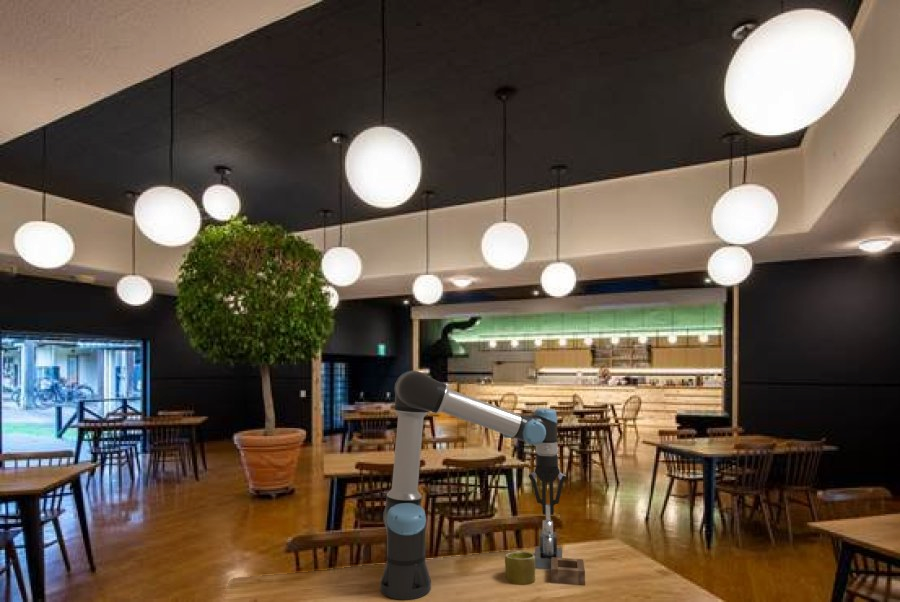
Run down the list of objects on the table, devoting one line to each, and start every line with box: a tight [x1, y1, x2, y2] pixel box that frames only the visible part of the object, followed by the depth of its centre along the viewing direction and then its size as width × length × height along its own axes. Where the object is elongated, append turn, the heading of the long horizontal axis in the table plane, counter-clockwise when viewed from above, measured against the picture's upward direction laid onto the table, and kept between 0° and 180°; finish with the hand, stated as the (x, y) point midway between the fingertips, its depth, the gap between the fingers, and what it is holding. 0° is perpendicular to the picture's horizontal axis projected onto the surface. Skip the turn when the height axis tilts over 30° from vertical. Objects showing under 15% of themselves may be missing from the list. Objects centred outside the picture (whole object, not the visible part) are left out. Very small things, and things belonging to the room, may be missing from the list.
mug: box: [504, 550, 536, 586], centre depth 167 cm, size 12×10×10 cm
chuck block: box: [534, 530, 563, 571], centre depth 180 cm, size 9×12×9 cm
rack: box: [550, 557, 586, 586], centre depth 167 cm, size 10×10×5 cm
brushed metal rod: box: [542, 519, 554, 559], centre depth 177 cm, size 3×3×14 cm
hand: (548, 524), depth 184 cm, fingers closed
